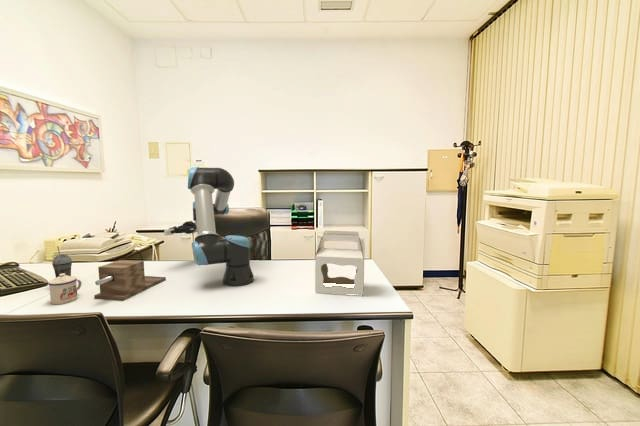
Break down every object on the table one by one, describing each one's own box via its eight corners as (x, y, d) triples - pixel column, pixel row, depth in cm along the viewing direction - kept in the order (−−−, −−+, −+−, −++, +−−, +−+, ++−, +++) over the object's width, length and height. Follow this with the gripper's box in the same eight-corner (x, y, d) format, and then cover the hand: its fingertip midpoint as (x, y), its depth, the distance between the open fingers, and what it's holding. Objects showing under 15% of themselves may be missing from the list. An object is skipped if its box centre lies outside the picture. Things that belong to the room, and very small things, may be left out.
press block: (141, 278, 154) (139, 253, 152) (165, 280, 151) (164, 254, 150) (94, 298, 127) (92, 268, 126) (123, 300, 125) (120, 269, 123)
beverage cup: (77, 285, 143) (74, 244, 141) (59, 290, 137) (55, 247, 135) (69, 282, 146) (65, 243, 144) (51, 287, 140) (47, 246, 138)
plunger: (132, 273, 142) (131, 261, 142) (143, 274, 142) (142, 262, 141) (91, 289, 121) (90, 275, 121) (104, 290, 120) (103, 276, 120)
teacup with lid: (62, 305, 120) (59, 278, 118) (44, 303, 122) (41, 276, 120) (90, 294, 131) (88, 269, 130) (73, 293, 133) (71, 268, 132)
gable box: (314, 293, 135) (314, 232, 132) (319, 283, 148) (319, 228, 145) (363, 296, 131) (364, 234, 128) (364, 286, 144) (365, 229, 141)
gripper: (201, 233, 182) (176, 240, 158) (181, 232, 184) (155, 239, 160) (200, 221, 181) (176, 226, 158) (181, 220, 183) (154, 225, 160)
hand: (165, 232), depth 159 cm, fingers closed
